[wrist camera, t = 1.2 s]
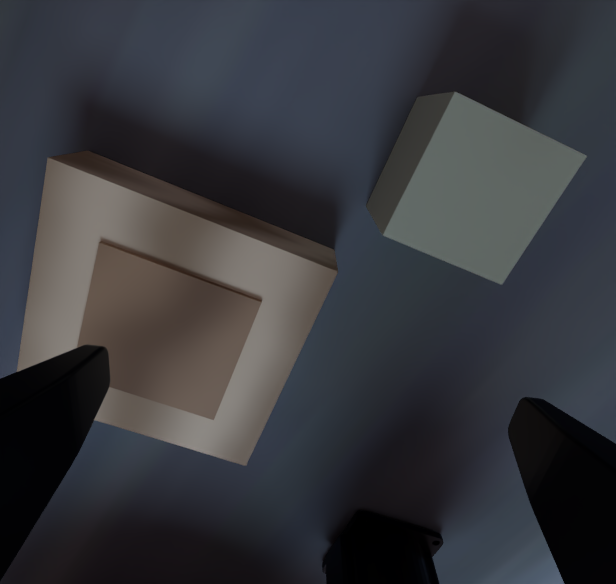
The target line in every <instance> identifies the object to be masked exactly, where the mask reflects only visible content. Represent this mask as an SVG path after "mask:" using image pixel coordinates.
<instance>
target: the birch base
mask: <svg viewBox="0 0 616 584" xmlns="http://www.w3.org/2000/svg"><path fill="white" fill-rule="evenodd" d="M337 273H338V268H337V262H336V256H335V250H334V249H331V248H329V247H326V246H324V245H321V244H319V243H317V242H314V241H312V240H309V239H307V238H304V237H302V236H299V235H297V234H294V233H292V232H289V231H287V230H284V229H282V228H279V227H277V226H274V225H272V224H269V223H267V222H264V221H262V220H259V219H257V218H254V217H252V216H249V215H247V214H244V213H242V212H239V211H237V210H234V209H232V208H229V207H227V206H224V205H222V204H220V203H217V202H215V201H212V200H210V199H207V198H205V197H202V196H200V195H197V194H195V193H192V192H190V191H187V190H185V189H182V188H180V187H177V186H175V185H172V184H170V183H167V182H165V181H162V180H160V179H157V178H155V177H152V176H150V175H147V174H145V173H142V172H140V171H137V170H135V169H132V168H130V167H127V166H125V165H122V164H120V163H118V162H115V161H113V160H110V159H108V158H105V157H103V156H100V155H98V154H95V153H93V152H90V151H82V152H77V153H71V154H65V155H59V156H53V157H48V160H47V167H46V174H45V181H44V187H43V194H42V201H41V208H40V215H39V222H38V229H37V236H36V243H35V250H34V256H33V263H32V270H31V277H30V284H29V291H28V298H27V305H26V312H25V319H24V325H23V332H22V339H21V346H20V353H19V360H18V367H17V372H18V371H21V370H23V369H26V368H28V367H31V366H33V365H36V364H38V363H40V362H43V361H45V360H48V359H50V358H53V357H55V356H58V355H60V354H63V353H65V352H68V351H70V350H73V349H75V348H78V347H80V346H83V345H86V344H90V345H98V346H104V347H106V348H107V350H108V353H109V365H110V386H109V389H108V392H107V394H106V396H105V398H104V400H103V402H102V404H101V407H100V409H99V411H98V413H97V415H96V417H95V419H94V420H97V421H100V422H103V423H106V424H110V425H113V426H116V427H119V428H123V429H126V430H129V431H133V432H136V433H139V434H142V435H146V436H149V437H152V438H156V439H159V440H162V441H165V442H169V443H172V444H175V445H179V446H182V447H185V448H188V449H192V450H195V451H198V452H202V453H205V454H208V455H211V456H215V457H218V458H221V459H224V460H228V461H231V462H234V463H238V464H241V465H244V466H246V464H247V462H248V460H249V458H250V456H251V454H252V452H253V450H254V448H255V445H256V443H257V441H258V439H259V437H260V435H261V433H262V431H263V429H264V427H265V424H266V422H267V420H268V418H269V416H270V414H271V412H272V410H273V408H274V406H275V403H276V401H277V399H278V397H279V395H280V393H281V391H282V389H283V387H284V384H285V382H286V380H287V378H288V376H289V374H290V372H291V370H292V368H293V366H294V363H295V361H296V359H297V357H298V355H299V353H300V351H301V349H302V347H303V345H304V342H305V340H306V338H307V336H308V334H309V332H310V330H311V328H312V326H313V323H314V321H315V319H316V317H317V315H318V313H319V311H320V309H321V307H322V305H323V302H324V300H325V298H326V296H327V294H328V292H329V290H330V288H331V286H332V284H333V281H334V279H335V277H336V275H337Z"/></svg>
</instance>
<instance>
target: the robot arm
mask: <svg viewBox="0 0 616 584" xmlns="http://www.w3.org/2000/svg"><path fill="white" fill-rule="evenodd" d="M109 386H110V365H109V353H108V350H107V348H106V347H104V346H98V345H90V344H86V345H83V346H80V347H78V348H75V349H73V350H70V351H68V352H65V353H63V354H60V355H58V356H55V357H53V358H50V359H48V360H45V361H43V362H40V363H38V364H36V365H33V366H31V367H28V368H26V369H23V370H21V371H18V372H16V373H13V374H11V375H8V376H6V377H3V378H1V379H0V581H1V579H2V578H3V576H4V574H5V573H6V571H7V569H8V568H9V566H10V565H11V563H12V561H13V560H14V558H15V556H16V555H17V553H18V551H19V550H20V548H21V547H22V545H23V543H24V542H25V540H26V538H27V537H28V535H29V534H30V532H31V530H32V529H33V527H34V525H35V524H36V522H37V520H38V519H39V517H40V516H41V514H42V512H43V511H44V509H45V507H46V506H47V504H48V502H49V501H50V499H51V498H52V496H53V494H54V493H55V491H56V489H57V488H58V486H59V485H60V483H61V481H62V480H63V478H64V476H65V475H66V473H67V471H68V470H69V468H70V467H71V465H72V463H73V461H74V460H75V458H76V456H77V455H78V453H79V451H80V449H81V447H82V445H83V443H84V441H85V438H86V436H87V434H88V432H89V430H90V428H91V426H92V424H93V421H94V419H95V417H96V415H97V413H98V411H99V409H100V407H101V404H102V402H103V400H104V398H105V396H106V394H107V392H108V389H109ZM508 435H509V439H510V442H511V446H512V449H513V452H514V455H515V458H516V461H517V464H518V467H519V471H520V474H521V477H522V480H523V483H524V486H525V489H526V493H527V495H528V498H529V501H530V504H531V506H532V509H533V511H534V514H535V516H536V518H537V521H538V523H539V525H540V528H541V530H542V532H543V535H544V537H545V539H546V542H547V544H548V546H549V549H550V551H551V553H552V556H553V558H554V560H555V563H556V565H557V567H558V570H559V572H560V574H561V577H562V579H563V581H564V584H616V444H615V443H614V442H612V441H610V440H609V439H607V438H606V437H604V436H602V435H601V434H599V433H597V432H596V431H594V430H593V429H591V428H589V427H588V426H586V425H584V424H583V423H581V422H579V421H578V420H576V419H575V418H573V417H571V416H570V415H568V414H566V413H565V412H563V411H562V410H560V409H558V408H557V407H555V406H553V405H552V404H550V403H548V402H547V401H545V400H543V399H539V398H530V397H524V398H522V399H521V400H520V401H519V403H518V405H517V408H516V410H515V412H514V415H513V417H512V419H511V421H510V424H509V427H508ZM442 545H443V539H442V536H441V534H439V533H437V532H433V531H430V530H427V529H423V528H420V527H417V526H413V525H410V524H407V523H404V522H400V521H397V520H394V519H390V518H387V517H384V516H380V515H377V514H374V513H370V512H367V511H359V512H357V513H356V514H355V515H354V517H353V518H352V520H351V521H350V523H349V524H348V526H347V527H346V529H345V530H344V532H343V533H342V534H341V535H340V536H339V537H338V539H337V540H336V542H335V543H334V545H333V546H332V548H331V549H330V551H329V552H328V554H327V555H326V559H325V560H324V562H323V564H322V570H323V572H324V573H325V574H326V582H327V584H439V581H438V577H437V573H436V570H435V566H434V562H433V558H432V557H433V556H434V554H435V553H436V552H437V551H438V550H439V548H440V547H441V546H442Z"/></svg>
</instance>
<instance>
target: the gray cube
mask: <svg viewBox="0 0 616 584" xmlns="http://www.w3.org/2000/svg"><path fill="white" fill-rule="evenodd" d="M586 157H587V156H586V155H584V154H582V153H580V152H578V151H576V150H574V149H572V148H570V147H568V146H566V145H564V144H562V143H559V142H557V141H555V140H553V139H551V138H549V137H547V136H545V135H543V134H541V133H539V132H537V131H535V130H533V129H531V128H529V127H527V126H525V125H523V124H521V123H519V122H517V121H514V120H512V119H510V118H508V117H506V116H504V115H502V114H500V113H498V112H496V111H494V110H492V109H490V108H488V107H486V106H484V105H482V104H480V103H478V102H476V101H474V100H472V99H469V98H467V97H465V96H463V95H461V94H459V93H457V92H448V93H441V94H434V95H427V96H420V97H417V99H416V101H415V103H414V105H413V107H412V109H411V111H410V114H409V116H408V118H407V120H406V122H405V124H404V126H403V128H402V131H401V133H400V135H399V137H398V139H397V141H396V143H395V145H394V147H393V150H392V152H391V154H390V156H389V158H388V160H387V162H386V164H385V167H384V169H383V171H382V173H381V175H380V177H379V179H378V181H377V183H376V186H375V188H374V190H373V192H372V194H371V196H370V198H369V200H368V203H367V205H366V207H367V209H368V211H369V213H370V214H371V216H372V218H373V220H374V221H375V223H376V225H377V226H378V228H379V230H380V232H381V233H382V235H383V236H385V237H388V238H390V239H393V240H395V241H397V242H400V243H402V244H405V245H407V246H409V247H412V248H414V249H417V250H419V251H421V252H424V253H426V254H429V255H431V256H433V257H436V258H438V259H441V260H443V261H445V262H448V263H450V264H453V265H455V266H457V267H460V268H462V269H465V270H467V271H470V272H472V273H474V274H477V275H479V276H482V277H484V278H486V279H489V280H491V281H494V282H496V283H498V284H501V285H502V284H503V282H504V281H505V279H506V278H507V276H508V275H509V273H510V272H511V270H512V269H513V267H514V266H515V264H516V263H517V261H518V260H519V258H520V257H521V255H522V254H523V252H524V251H525V249H526V248H527V246H528V245H529V243H530V242H531V240H532V239H533V237H534V235H535V234H536V232H537V231H538V229H539V228H540V226H541V225H542V223H543V222H544V220H545V219H546V217H547V216H548V214H549V213H550V211H551V210H552V208H553V207H554V205H555V204H556V202H557V201H558V199H559V198H560V196H561V195H562V193H563V192H564V190H565V189H566V187H567V186H568V184H569V183H570V181H571V180H572V178H573V177H574V175H575V174H576V172H577V170H578V169H579V167H580V166H581V164H582V163H583V161H584V160H585V158H586Z"/></svg>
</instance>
